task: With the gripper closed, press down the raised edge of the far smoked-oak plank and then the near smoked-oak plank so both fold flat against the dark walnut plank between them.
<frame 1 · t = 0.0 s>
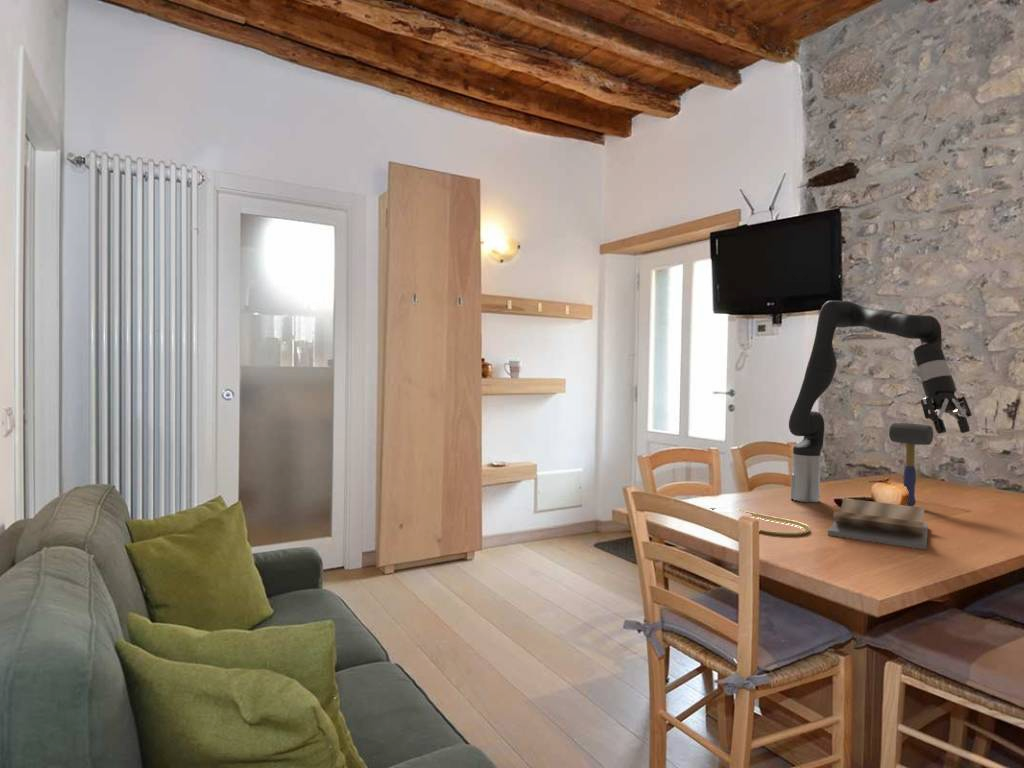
hand: (953, 432, 172), 31 cm above the table, tool tilted 20°, fingers open, 8 cm apart
far plank: (881, 512, 191), point 4 cm above the table, hinge at 28.0°
near plank: (877, 522, 178), point 4 cm above the table, hinge at 28.0°
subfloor: (879, 531, 184), on the table
serving platter: (750, 524, 193), on the table
rubber mallet: (908, 507, 219), on the table
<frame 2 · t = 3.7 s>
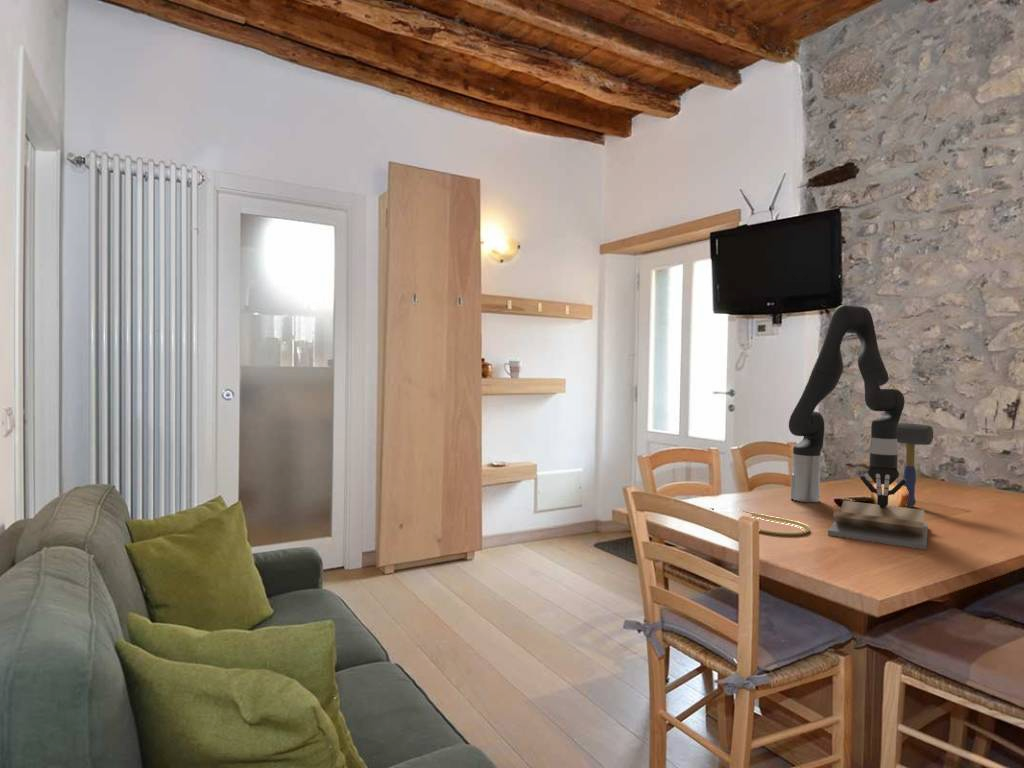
hand: (882, 506, 192), 6 cm above the table, tool pointing down, fingers closed
far plank: (881, 513, 191), point 4 cm above the table, hinge at 21.5°, touching gripper
everything else where it was.
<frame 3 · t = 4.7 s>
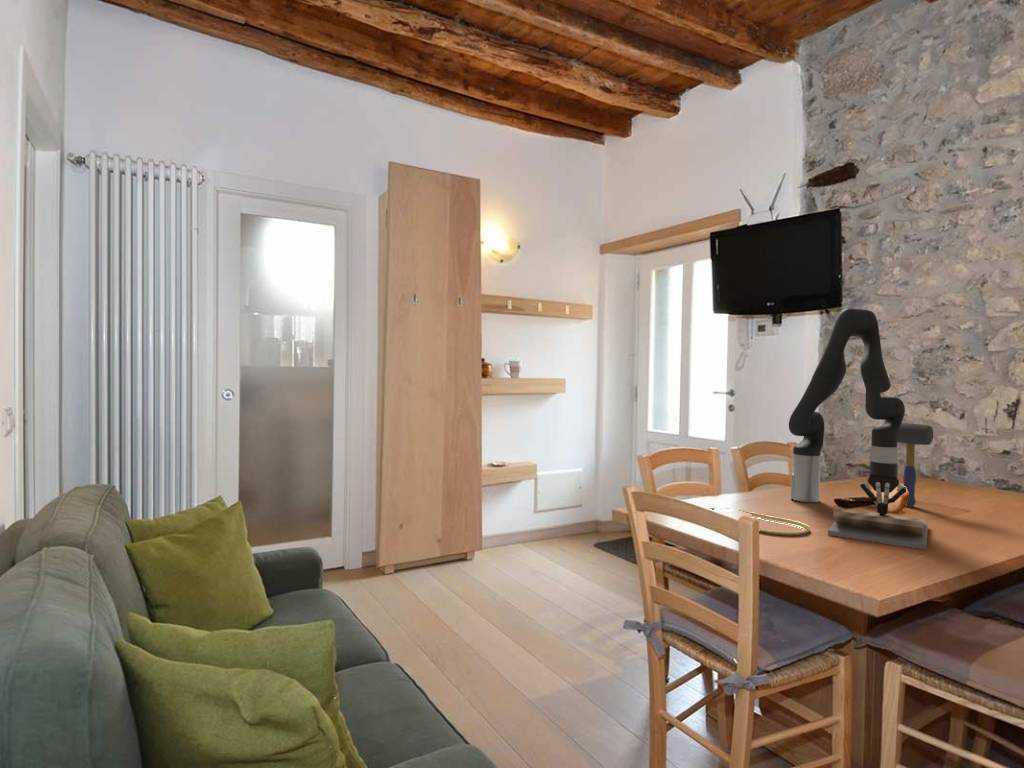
hand: (882, 514, 193), 3 cm above the table, tool pointing down, fingers closed
far plank: (881, 518, 191), point 2 cm above the table, hinge at -0.4°, touching gripper, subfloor
everything else where it was.
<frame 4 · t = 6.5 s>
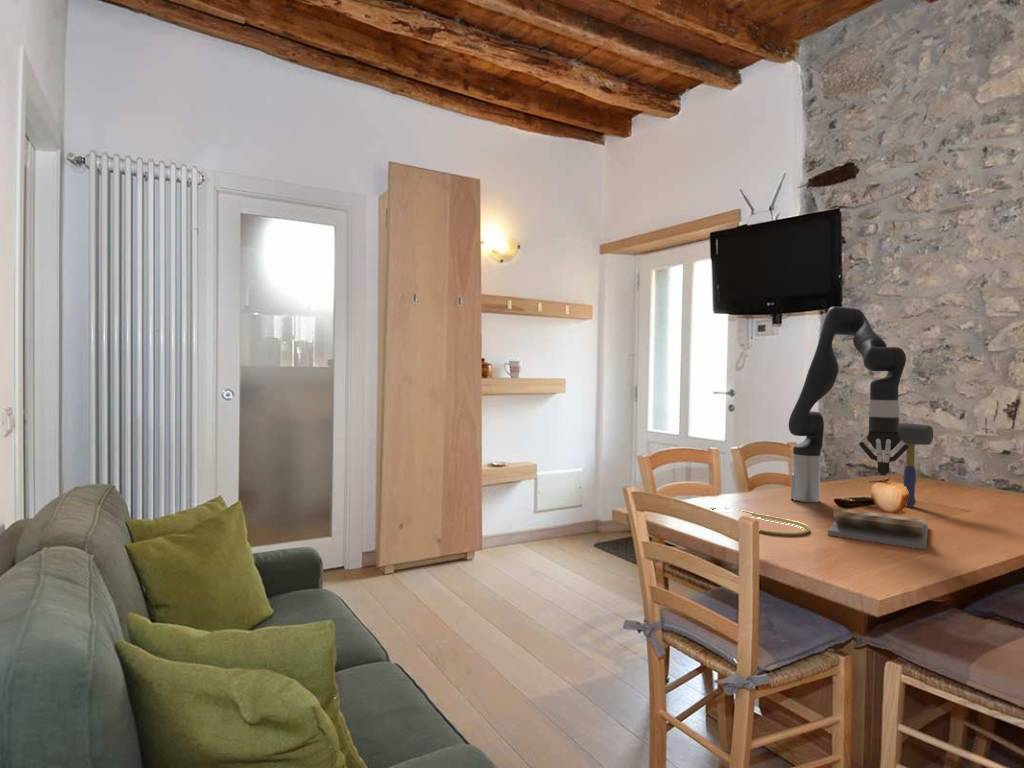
hand: (883, 475, 177), 18 cm above the table, tool pointing down, fingers closed
far plank: (881, 518, 191), point 2 cm above the table, hinge at -0.4°, touching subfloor
everything else where it was.
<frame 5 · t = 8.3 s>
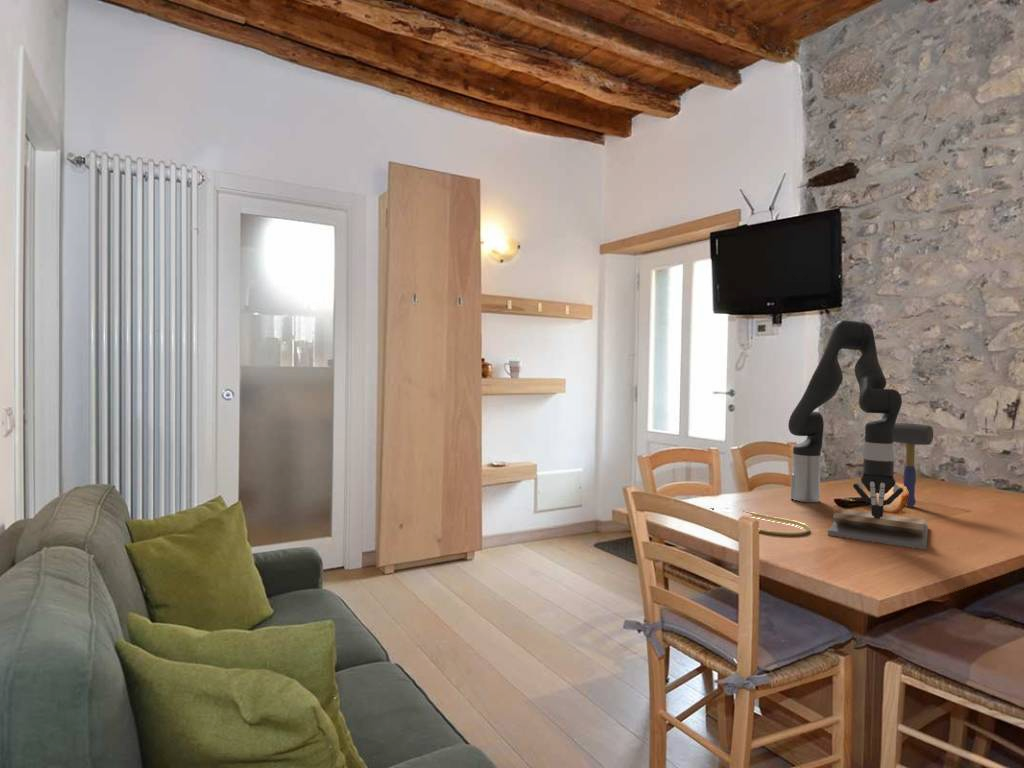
hand: (877, 518, 176), 6 cm above the table, tool pointing down, fingers closed
near plank: (877, 523, 178), point 4 cm above the table, hinge at 23.9°, touching gripper
everything else where it was.
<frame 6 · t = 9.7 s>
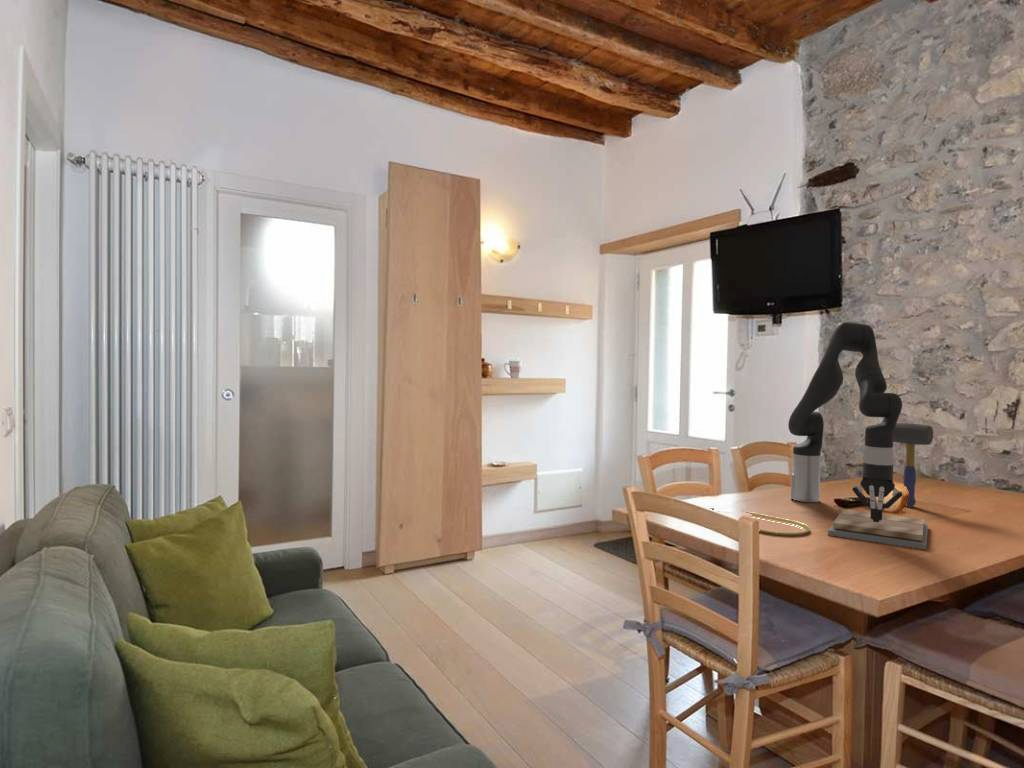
hand: (876, 521, 176), 5 cm above the table, tool pointing down, fingers closed
near plank: (877, 529, 178), point 2 cm above the table, hinge at 2.1°
everything else where it was.
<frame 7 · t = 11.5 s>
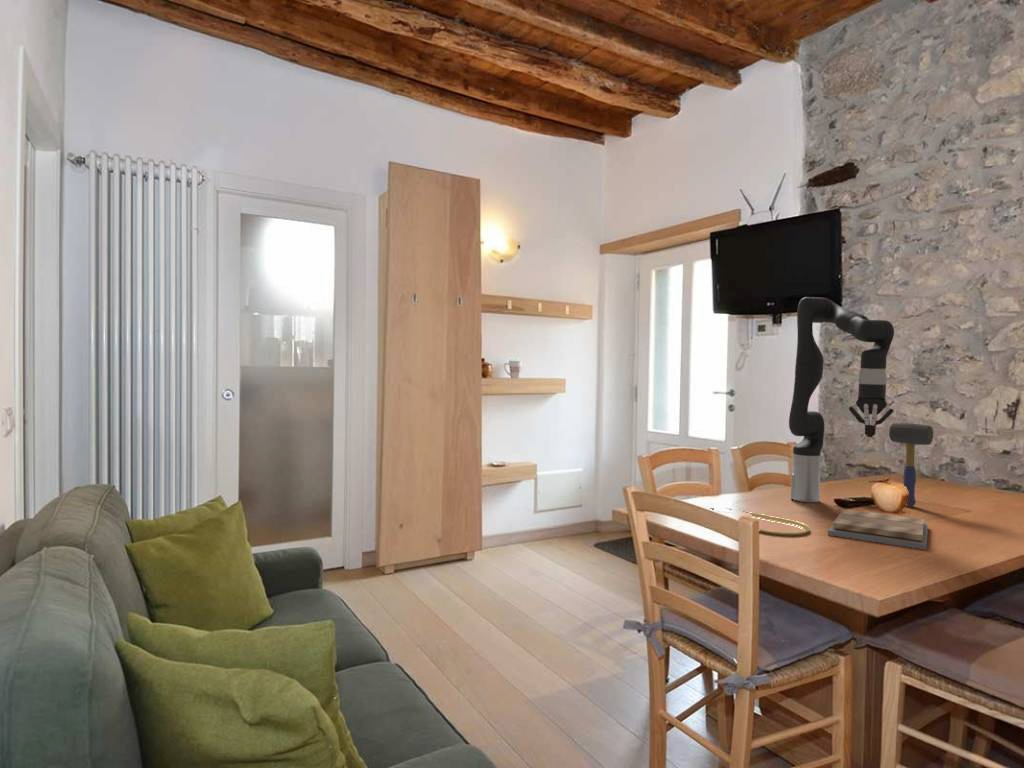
hand: (869, 436, 195), 28 cm above the table, tool pointing down, fingers closed
nothing on the table moved.
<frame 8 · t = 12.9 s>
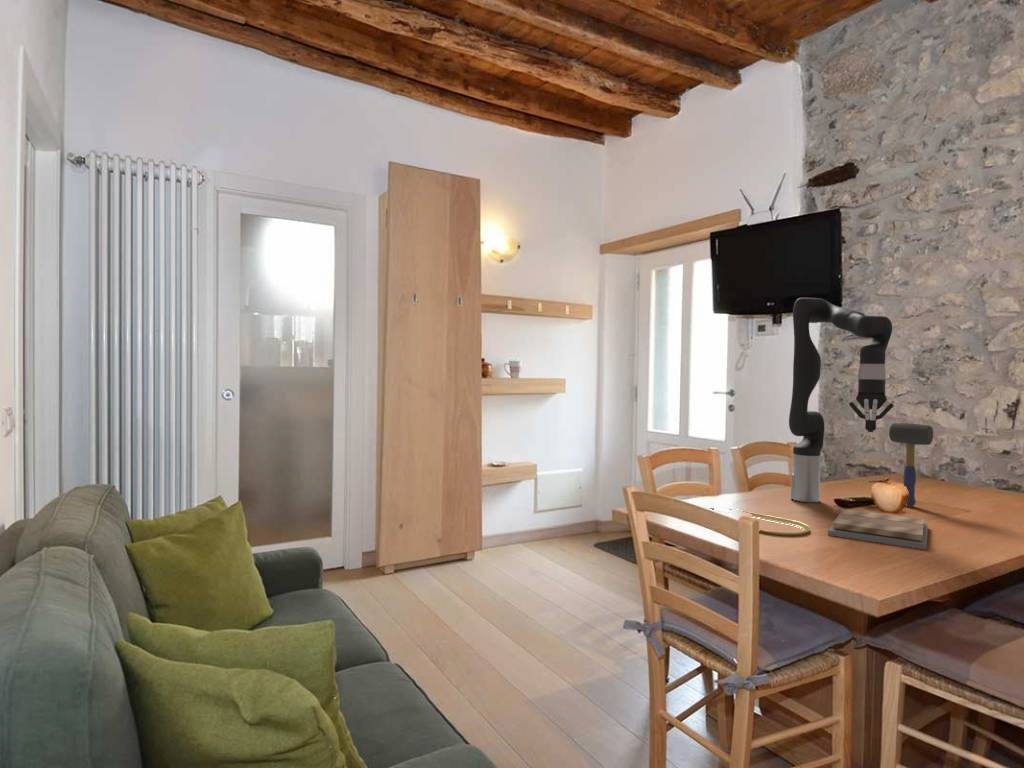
hand: (870, 431, 196), 29 cm above the table, tool pointing down, fingers closed
nothing on the table moved.
at the end: far plank at +0° (first picture: +28°); near plank at +2° (first picture: +28°) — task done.
